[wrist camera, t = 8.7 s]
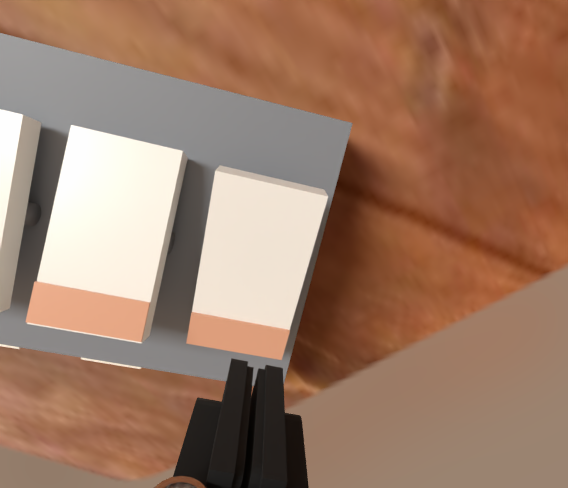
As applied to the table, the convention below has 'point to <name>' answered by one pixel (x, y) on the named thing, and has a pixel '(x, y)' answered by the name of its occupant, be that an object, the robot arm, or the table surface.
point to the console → (193, 197)
